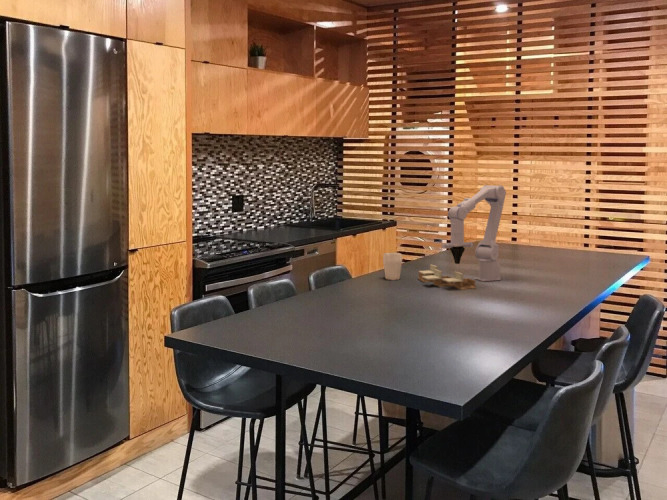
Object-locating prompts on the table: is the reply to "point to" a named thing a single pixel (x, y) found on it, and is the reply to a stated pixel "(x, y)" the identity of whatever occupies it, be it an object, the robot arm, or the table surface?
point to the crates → (456, 284)
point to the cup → (392, 265)
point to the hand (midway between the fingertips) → (457, 263)
